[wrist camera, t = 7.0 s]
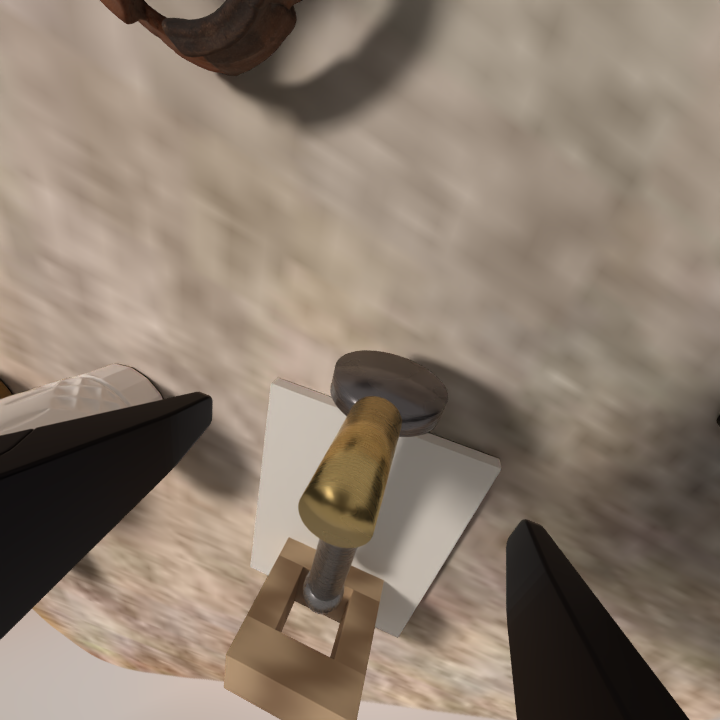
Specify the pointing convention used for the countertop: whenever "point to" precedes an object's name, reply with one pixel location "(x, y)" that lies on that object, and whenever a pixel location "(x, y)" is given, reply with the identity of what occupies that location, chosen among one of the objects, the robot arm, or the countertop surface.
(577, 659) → the robot arm
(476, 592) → the countertop surface
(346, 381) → the hook rod
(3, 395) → the plant pot
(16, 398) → the white cup
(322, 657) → the block
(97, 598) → the countertop surface
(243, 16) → the brown curved loop
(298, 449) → the mounting board
